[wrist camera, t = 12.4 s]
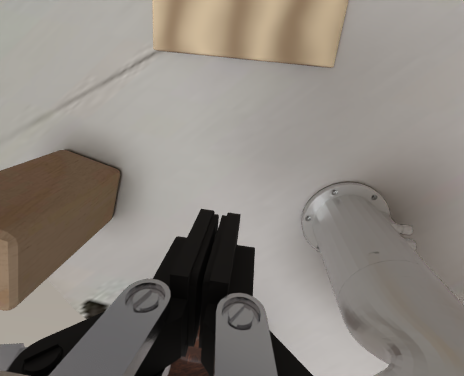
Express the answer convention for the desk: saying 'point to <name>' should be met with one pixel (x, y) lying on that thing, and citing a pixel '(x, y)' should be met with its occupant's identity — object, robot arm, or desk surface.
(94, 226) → the wooden block
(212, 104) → the desk surface
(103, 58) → the desk surface
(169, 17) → the board
